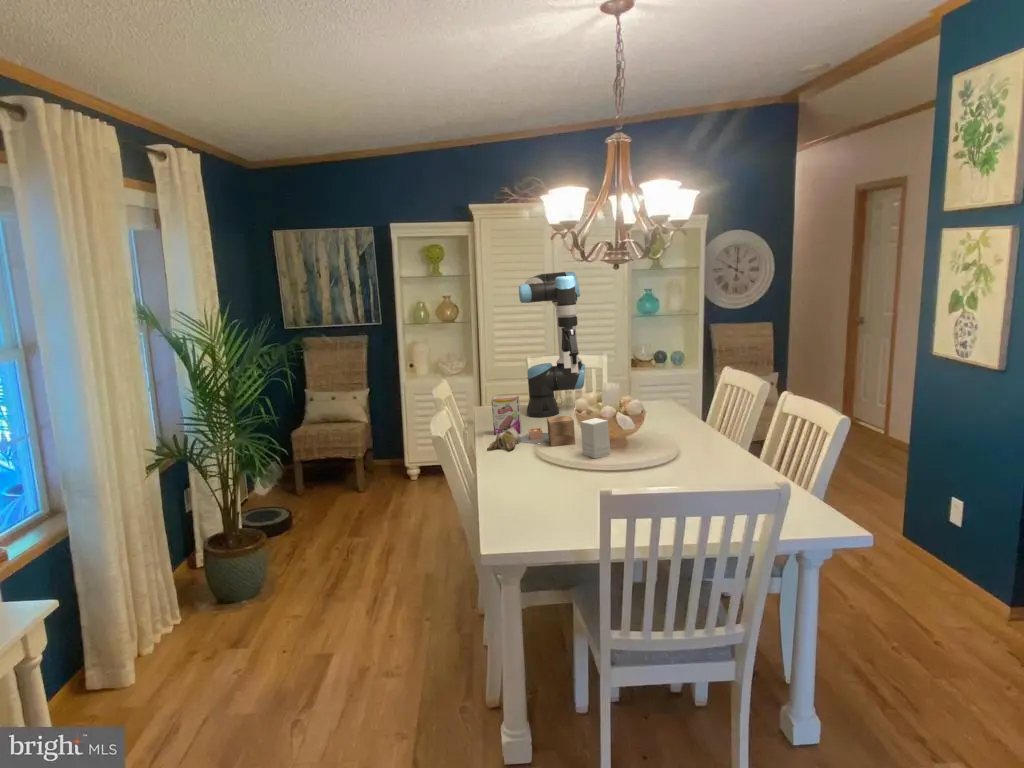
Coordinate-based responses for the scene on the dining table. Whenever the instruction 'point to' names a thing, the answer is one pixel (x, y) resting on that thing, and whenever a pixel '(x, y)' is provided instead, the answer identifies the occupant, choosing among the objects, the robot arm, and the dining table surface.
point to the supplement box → (595, 437)
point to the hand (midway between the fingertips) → (571, 370)
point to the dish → (535, 434)
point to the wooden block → (561, 430)
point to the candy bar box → (506, 413)
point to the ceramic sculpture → (505, 440)
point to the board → (527, 440)
